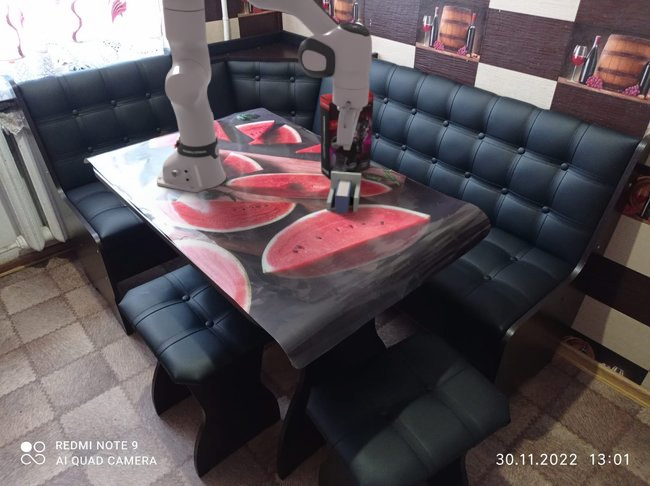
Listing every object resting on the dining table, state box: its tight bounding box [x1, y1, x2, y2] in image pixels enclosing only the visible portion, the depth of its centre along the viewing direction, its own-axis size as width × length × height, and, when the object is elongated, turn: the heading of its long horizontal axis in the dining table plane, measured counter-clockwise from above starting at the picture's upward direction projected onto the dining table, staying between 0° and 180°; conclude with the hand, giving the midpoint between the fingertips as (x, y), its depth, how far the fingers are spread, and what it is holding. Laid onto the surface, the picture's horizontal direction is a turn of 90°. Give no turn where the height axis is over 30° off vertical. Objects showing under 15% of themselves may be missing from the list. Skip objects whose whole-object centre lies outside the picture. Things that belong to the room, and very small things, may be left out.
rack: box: [326, 171, 362, 213], centre depth 149 cm, size 9×10×8 cm
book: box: [334, 180, 352, 214], centre depth 149 cm, size 4×10×6 cm, turn 172°
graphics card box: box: [319, 89, 375, 180], centre depth 161 cm, size 17×7×27 cm, turn 120°
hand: (347, 147), depth 127 cm, fingers closed
